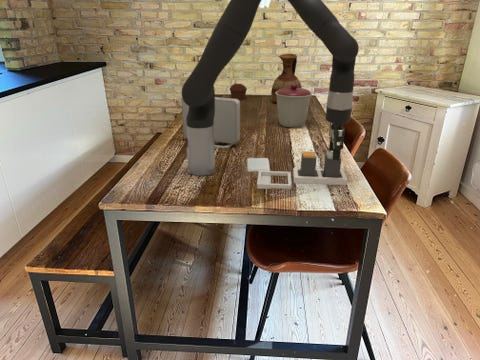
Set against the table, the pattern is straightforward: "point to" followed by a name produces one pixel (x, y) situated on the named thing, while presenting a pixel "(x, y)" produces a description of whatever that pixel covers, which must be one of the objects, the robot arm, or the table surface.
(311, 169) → the dark grey orange block
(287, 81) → the ceramic pitcher
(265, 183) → the tray
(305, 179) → the white compartment holder
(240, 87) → the muffin
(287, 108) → the canister
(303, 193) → the table surface
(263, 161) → the hard drive
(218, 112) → the network device
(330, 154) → the dark board eraser
